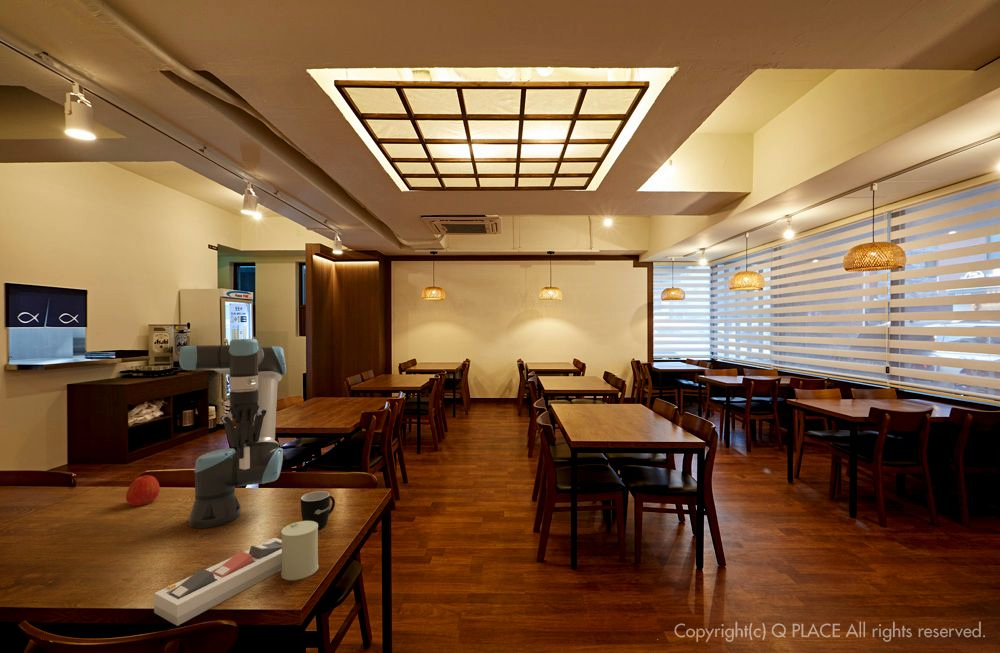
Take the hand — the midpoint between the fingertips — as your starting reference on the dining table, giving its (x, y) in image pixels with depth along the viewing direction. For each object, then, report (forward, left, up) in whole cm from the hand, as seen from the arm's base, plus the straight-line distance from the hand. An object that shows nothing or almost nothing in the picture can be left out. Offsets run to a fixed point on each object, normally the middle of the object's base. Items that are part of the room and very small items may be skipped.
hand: (244, 468), depth 129 cm
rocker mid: (+16, -13, -19) cm, 28 cm away
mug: (+7, +21, -24) cm, 33 cm away
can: (+26, -1, -24) cm, 35 cm away
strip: (+16, -9, -24) cm, 30 cm away
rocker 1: (+16, -22, -19) cm, 34 cm away
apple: (-71, +4, -24) cm, 75 cm away
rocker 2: (+16, -3, -19) cm, 25 cm away
